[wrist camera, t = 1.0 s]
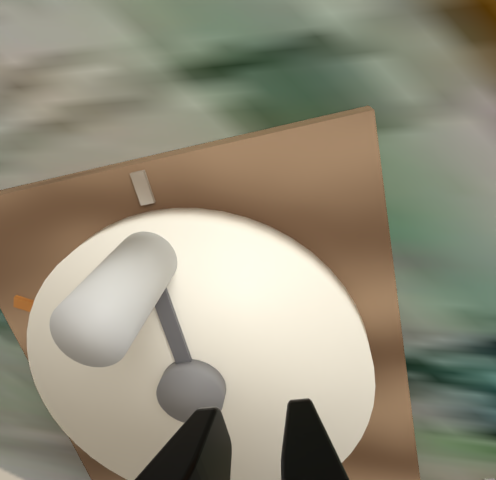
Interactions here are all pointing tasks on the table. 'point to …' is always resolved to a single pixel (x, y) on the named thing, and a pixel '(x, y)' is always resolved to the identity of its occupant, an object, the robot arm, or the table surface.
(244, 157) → the dial base
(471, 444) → the table surface
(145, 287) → the dial
